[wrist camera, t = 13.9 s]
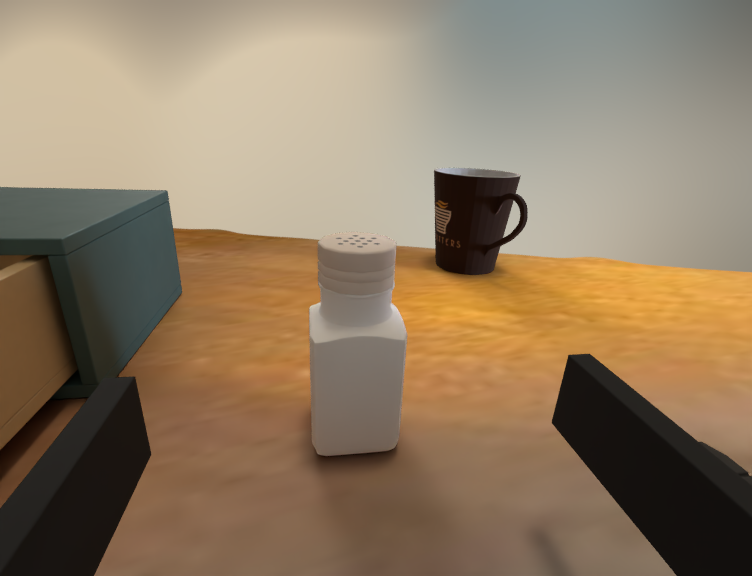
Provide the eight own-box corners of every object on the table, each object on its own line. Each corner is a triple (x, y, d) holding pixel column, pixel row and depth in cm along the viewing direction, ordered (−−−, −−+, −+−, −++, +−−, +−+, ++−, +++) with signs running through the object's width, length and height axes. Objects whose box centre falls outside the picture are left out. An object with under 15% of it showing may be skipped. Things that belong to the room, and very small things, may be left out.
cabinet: (101, 397, 21) (61, 238, 18) (-172, 411, 19) (-270, 237, 16) (182, 292, 35) (167, 190, 32) (24, 294, 33) (-8, 186, 30)
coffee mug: (423, 251, 49) (431, 166, 46) (495, 255, 49) (508, 170, 45) (430, 286, 38) (440, 178, 35) (521, 292, 38) (542, 183, 34)
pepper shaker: (401, 455, 18) (417, 255, 15) (312, 463, 18) (307, 255, 14) (385, 400, 22) (396, 229, 19) (311, 405, 21) (307, 229, 18)
